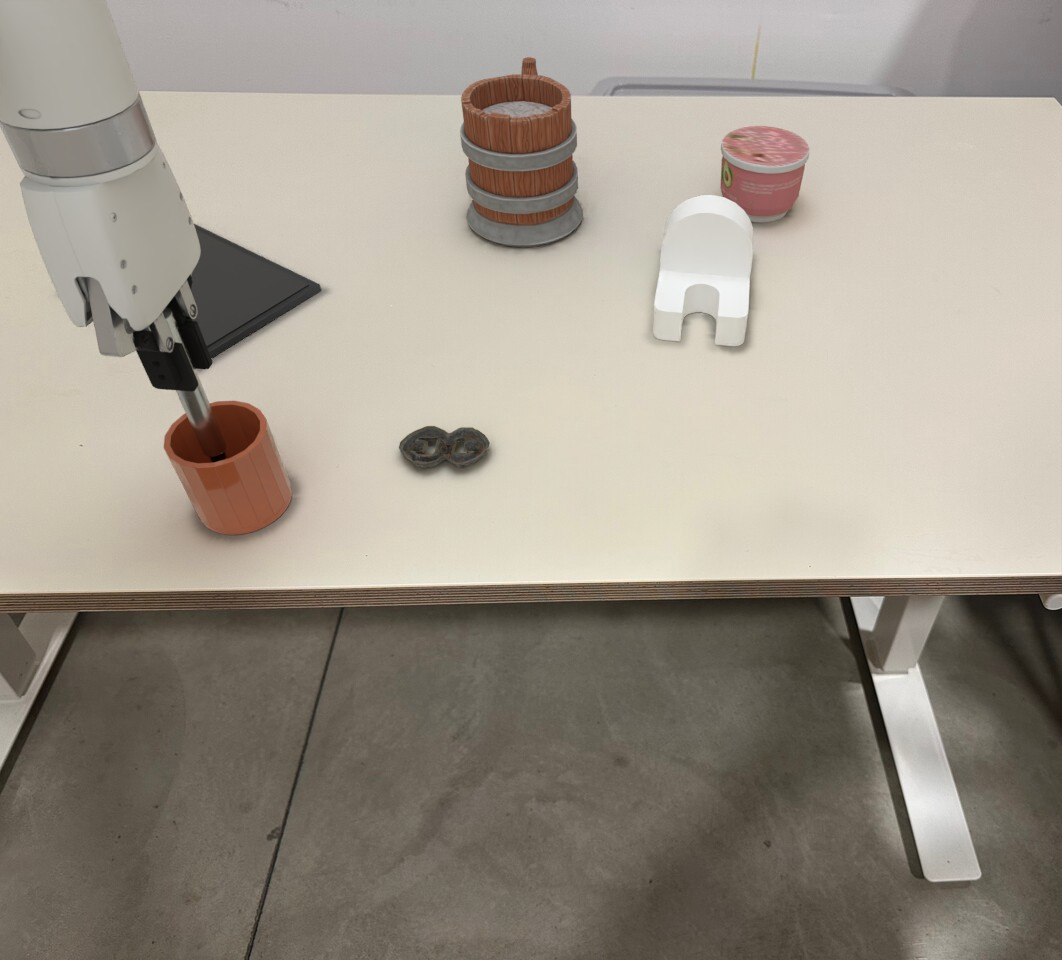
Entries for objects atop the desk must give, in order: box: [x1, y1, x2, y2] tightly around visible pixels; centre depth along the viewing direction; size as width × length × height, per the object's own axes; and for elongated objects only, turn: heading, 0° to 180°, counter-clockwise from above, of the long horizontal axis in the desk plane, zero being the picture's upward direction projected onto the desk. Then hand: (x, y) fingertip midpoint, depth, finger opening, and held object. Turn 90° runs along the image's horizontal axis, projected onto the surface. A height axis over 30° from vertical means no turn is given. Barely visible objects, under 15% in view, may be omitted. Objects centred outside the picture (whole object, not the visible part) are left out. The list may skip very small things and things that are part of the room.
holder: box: [163, 400, 293, 536], centre depth 73 cm, size 8×8×8 cm
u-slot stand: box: [652, 194, 754, 347], centre depth 95 cm, size 10×18×11 cm, turn 174°
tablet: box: [143, 223, 322, 359], centre depth 96 cm, size 16×22×1 cm
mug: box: [459, 56, 584, 248], centre depth 105 cm, size 14×19×15 cm
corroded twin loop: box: [398, 425, 490, 469], centre depth 80 cm, size 5×8×1 cm, turn 91°
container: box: [719, 125, 810, 223], centre depth 109 cm, size 10×10×8 cm
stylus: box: [148, 307, 227, 463], centre depth 67 cm, size 2×2×14 cm
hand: (183, 375), depth 65 cm, fingers closed on stylus, 1 cm apart
